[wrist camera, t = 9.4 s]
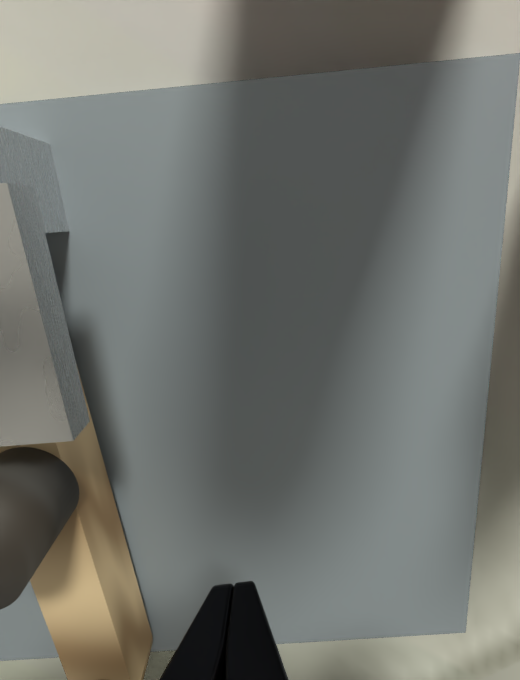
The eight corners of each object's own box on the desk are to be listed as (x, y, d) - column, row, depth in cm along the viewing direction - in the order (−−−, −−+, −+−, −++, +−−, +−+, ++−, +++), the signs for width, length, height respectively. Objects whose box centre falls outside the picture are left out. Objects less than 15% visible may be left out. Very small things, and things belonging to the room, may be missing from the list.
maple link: (163, 654, 18) (125, 828, 13) (100, 659, 18) (36, 834, 13) (55, 253, 13) (-85, 277, 8) (-35, 265, 13) (-233, 297, 8)
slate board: (10, 643, 20) (0, 660, 19) (-183, 130, 13) (-211, 124, 12) (457, 615, 19) (465, 632, 18) (504, 63, 12) (520, 52, 11)
